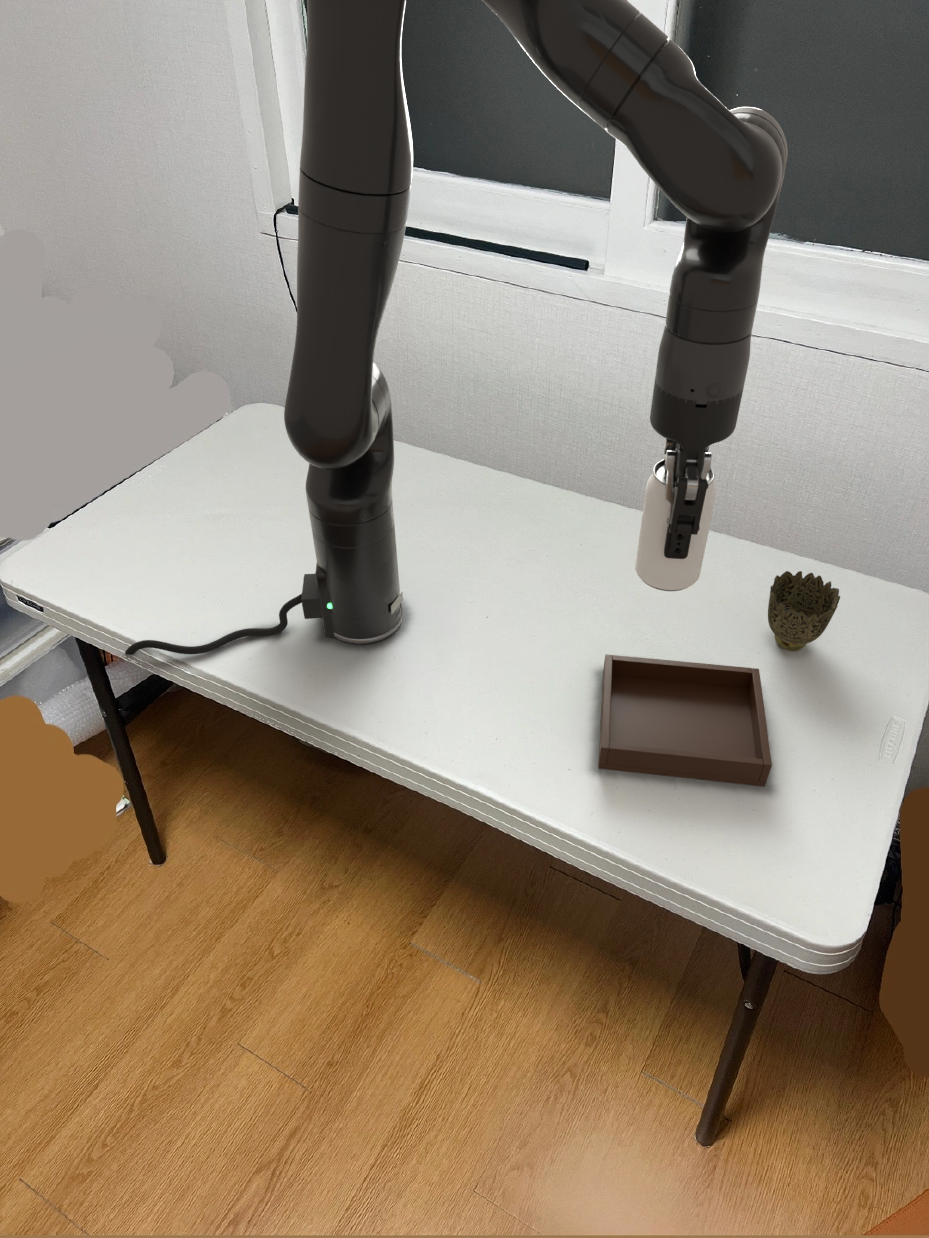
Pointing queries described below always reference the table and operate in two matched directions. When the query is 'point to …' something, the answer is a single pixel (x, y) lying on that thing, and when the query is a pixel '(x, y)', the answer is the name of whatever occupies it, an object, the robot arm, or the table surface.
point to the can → (653, 535)
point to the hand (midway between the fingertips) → (673, 534)
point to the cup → (800, 609)
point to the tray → (683, 720)
